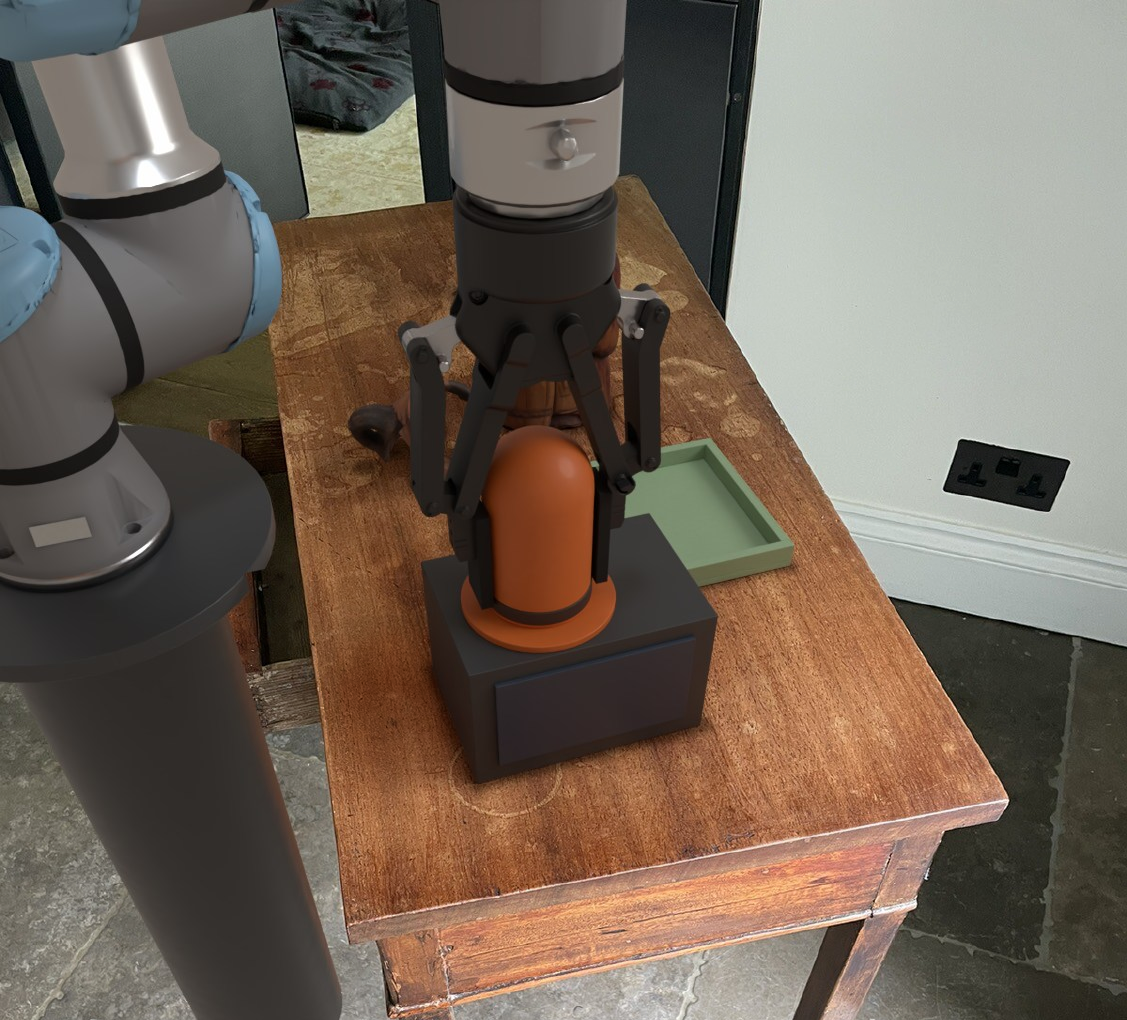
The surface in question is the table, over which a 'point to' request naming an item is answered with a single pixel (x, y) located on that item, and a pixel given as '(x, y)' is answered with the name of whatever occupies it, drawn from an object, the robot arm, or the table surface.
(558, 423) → the wooden figurine
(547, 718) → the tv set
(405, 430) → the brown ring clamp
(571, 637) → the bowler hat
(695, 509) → the tray
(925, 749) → the table surface
